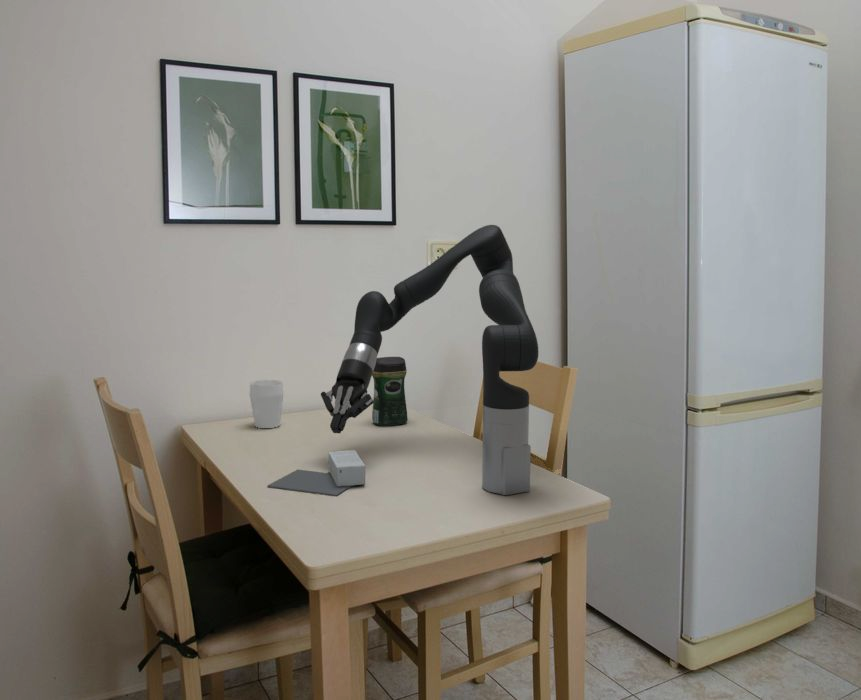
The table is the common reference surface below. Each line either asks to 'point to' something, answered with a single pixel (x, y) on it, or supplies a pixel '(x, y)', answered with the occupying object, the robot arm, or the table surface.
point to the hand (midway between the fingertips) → (335, 431)
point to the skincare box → (346, 468)
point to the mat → (310, 482)
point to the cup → (266, 402)
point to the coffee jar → (389, 391)
